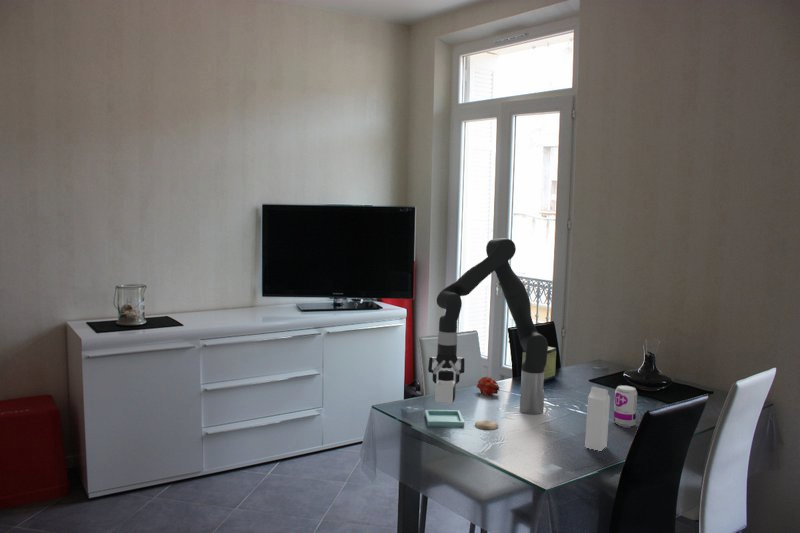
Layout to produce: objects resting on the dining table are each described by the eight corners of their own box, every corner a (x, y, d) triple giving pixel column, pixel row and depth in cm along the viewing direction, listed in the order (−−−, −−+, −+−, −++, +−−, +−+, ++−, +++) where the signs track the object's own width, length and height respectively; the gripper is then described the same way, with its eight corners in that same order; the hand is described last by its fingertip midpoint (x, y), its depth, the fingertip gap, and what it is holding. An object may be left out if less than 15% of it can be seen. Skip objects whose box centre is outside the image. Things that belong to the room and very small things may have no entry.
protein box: (555, 378, 329) (557, 347, 328) (539, 384, 318) (541, 352, 316) (536, 373, 336) (538, 343, 335) (520, 379, 325) (522, 348, 323)
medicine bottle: (453, 404, 257) (454, 373, 255) (434, 402, 258) (435, 372, 257) (455, 398, 264) (456, 369, 262) (437, 397, 265) (438, 367, 264)
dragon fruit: (478, 393, 304) (497, 404, 296) (469, 386, 299) (488, 396, 290) (487, 378, 306) (507, 388, 297) (479, 370, 301) (498, 380, 292)
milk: (590, 443, 242) (594, 384, 240) (607, 447, 239) (611, 388, 237) (584, 448, 238) (588, 388, 235) (601, 452, 234) (605, 391, 232)
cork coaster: (495, 421, 262) (495, 420, 262) (500, 430, 253) (500, 428, 253) (473, 421, 262) (473, 420, 262) (476, 429, 253) (476, 428, 253)
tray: (459, 415, 269) (459, 410, 269) (464, 427, 255) (464, 422, 255) (425, 414, 268) (425, 409, 268) (428, 426, 254) (428, 421, 254)
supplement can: (624, 429, 259) (627, 391, 257) (608, 422, 266) (611, 386, 264) (639, 426, 262) (642, 389, 261) (623, 419, 270) (626, 384, 268)
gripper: (464, 340, 262) (462, 380, 264) (428, 339, 262) (426, 380, 264) (466, 345, 255) (465, 386, 257) (430, 344, 254) (428, 385, 256)
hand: (445, 383), depth 260 cm, fingers closed on medicine bottle, 8 cm apart
